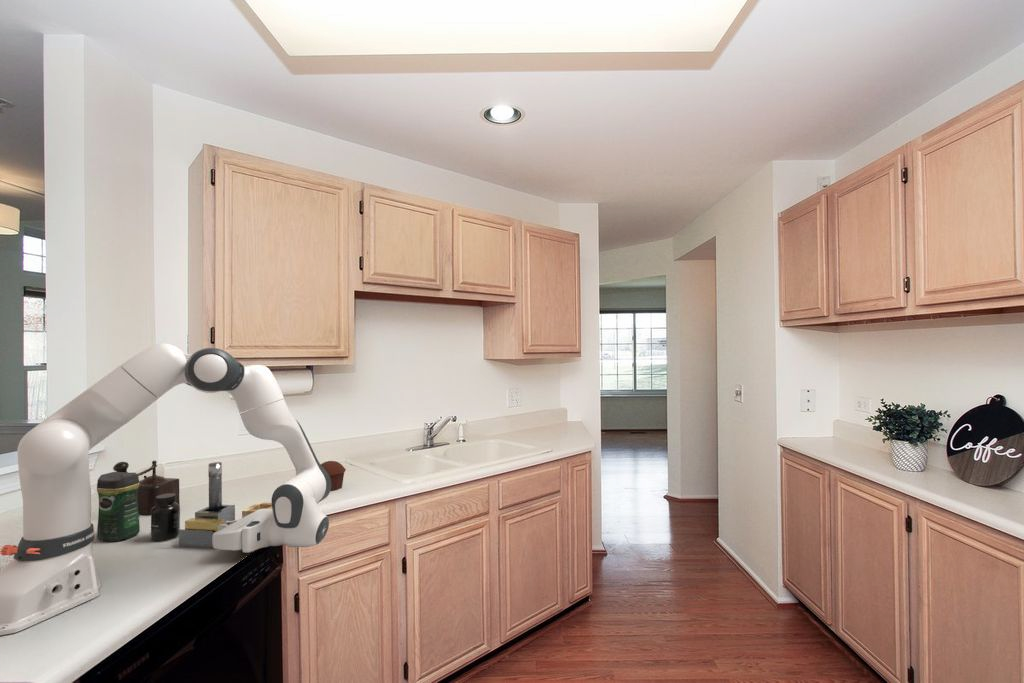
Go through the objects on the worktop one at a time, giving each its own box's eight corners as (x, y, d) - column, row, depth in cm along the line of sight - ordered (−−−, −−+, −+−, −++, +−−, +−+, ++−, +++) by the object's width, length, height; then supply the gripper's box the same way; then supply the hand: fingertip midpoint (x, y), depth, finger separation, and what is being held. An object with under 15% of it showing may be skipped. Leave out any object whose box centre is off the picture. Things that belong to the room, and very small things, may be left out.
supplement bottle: (146, 543, 136) (146, 500, 136) (157, 534, 143) (156, 493, 143) (174, 540, 138) (174, 498, 138) (183, 531, 144) (183, 491, 144)
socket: (212, 548, 132) (212, 518, 132) (178, 546, 134) (178, 517, 134) (242, 531, 144) (241, 504, 144) (211, 529, 146) (210, 503, 146)
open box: (266, 524, 149) (266, 511, 149) (242, 523, 150) (241, 510, 150) (281, 515, 157) (281, 503, 157) (258, 514, 158) (258, 502, 158)
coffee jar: (145, 532, 144) (145, 469, 144) (119, 543, 136) (118, 476, 136) (118, 530, 146) (118, 468, 146) (90, 541, 138) (90, 475, 138)
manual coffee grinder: (151, 504, 170) (151, 452, 170) (180, 505, 168) (180, 452, 168) (109, 520, 154) (109, 463, 154) (141, 521, 153) (141, 464, 153)
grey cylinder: (216, 528, 139) (216, 465, 139) (205, 528, 139) (205, 464, 139) (224, 524, 142) (224, 462, 142) (214, 523, 142) (214, 461, 142)
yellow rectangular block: (218, 535, 133) (218, 522, 133) (185, 534, 134) (184, 521, 134) (224, 532, 135) (224, 519, 135) (191, 530, 136) (191, 518, 136)
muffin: (311, 486, 189) (311, 461, 189) (341, 482, 195) (340, 457, 195) (318, 494, 179) (318, 467, 179) (349, 489, 185) (349, 463, 185)
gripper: (290, 503, 143) (246, 502, 144) (243, 530, 122) (193, 528, 124) (290, 525, 143) (246, 523, 144) (243, 555, 122) (193, 553, 124)
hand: (221, 526), depth 134 cm, fingers closed, pressing on yellow rectangular block
